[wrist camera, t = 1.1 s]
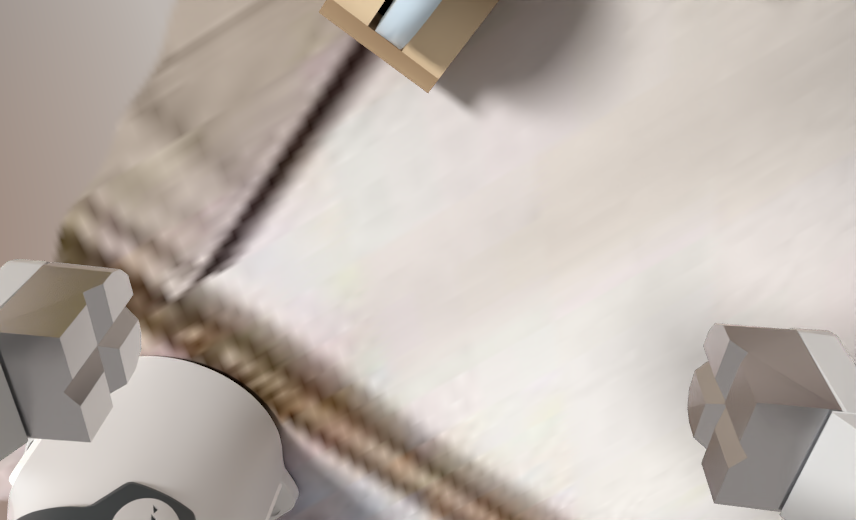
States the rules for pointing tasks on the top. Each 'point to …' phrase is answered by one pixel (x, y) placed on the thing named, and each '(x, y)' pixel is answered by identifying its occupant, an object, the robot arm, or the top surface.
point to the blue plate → (405, 20)
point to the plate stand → (429, 48)
